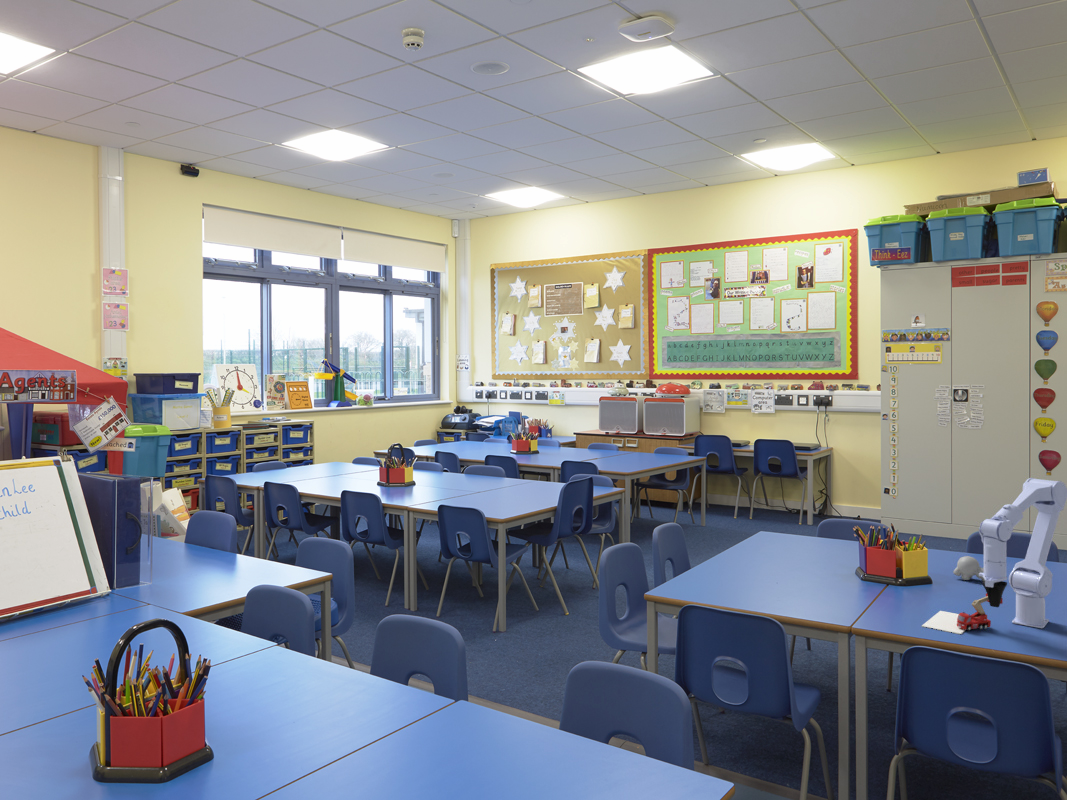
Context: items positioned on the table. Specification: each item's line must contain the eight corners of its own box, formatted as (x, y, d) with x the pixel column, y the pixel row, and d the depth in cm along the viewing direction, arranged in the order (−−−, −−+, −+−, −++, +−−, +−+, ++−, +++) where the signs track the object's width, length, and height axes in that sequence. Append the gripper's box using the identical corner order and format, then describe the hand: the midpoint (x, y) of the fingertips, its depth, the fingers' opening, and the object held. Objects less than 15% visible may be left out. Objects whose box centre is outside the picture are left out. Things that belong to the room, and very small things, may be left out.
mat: (940, 611, 239) (940, 610, 239) (977, 618, 231) (977, 617, 231) (921, 626, 225) (921, 625, 225) (960, 634, 218) (960, 633, 218)
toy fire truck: (954, 627, 223) (957, 595, 222) (991, 623, 227) (993, 592, 226) (964, 631, 220) (966, 599, 219) (1001, 627, 223) (1003, 596, 223)
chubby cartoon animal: (982, 592, 268) (992, 572, 265) (949, 573, 276) (958, 554, 273) (989, 587, 273) (999, 568, 270) (956, 570, 281) (965, 550, 278)
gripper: (985, 553, 227) (985, 598, 228) (973, 563, 217) (973, 609, 217) (1012, 557, 223) (1012, 602, 223) (1001, 567, 212) (1001, 614, 212)
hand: (994, 606), depth 220 cm, fingers closed
